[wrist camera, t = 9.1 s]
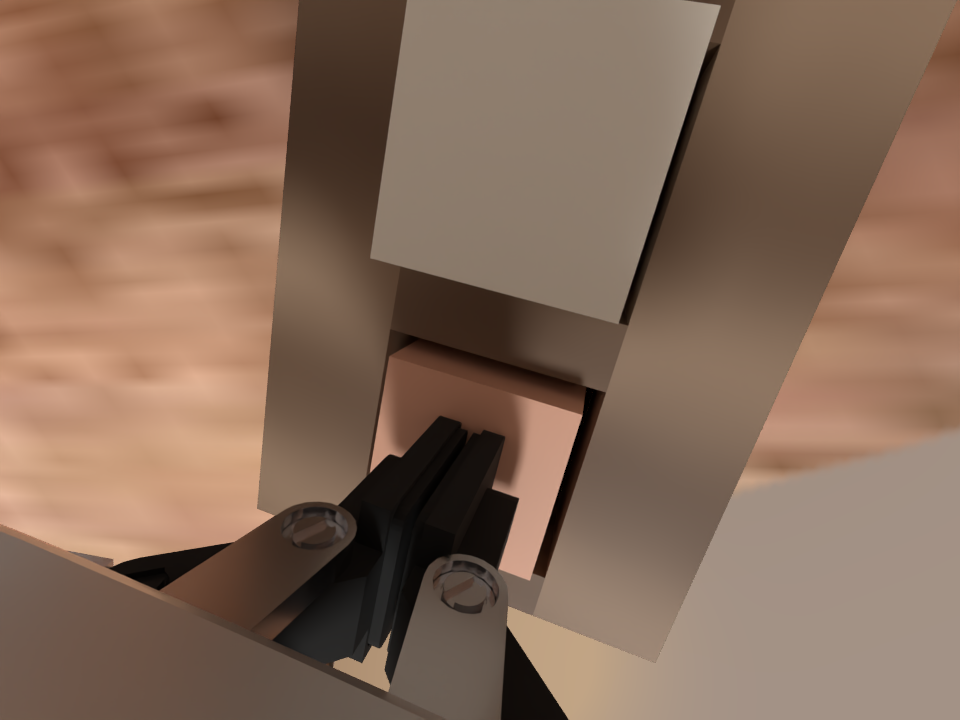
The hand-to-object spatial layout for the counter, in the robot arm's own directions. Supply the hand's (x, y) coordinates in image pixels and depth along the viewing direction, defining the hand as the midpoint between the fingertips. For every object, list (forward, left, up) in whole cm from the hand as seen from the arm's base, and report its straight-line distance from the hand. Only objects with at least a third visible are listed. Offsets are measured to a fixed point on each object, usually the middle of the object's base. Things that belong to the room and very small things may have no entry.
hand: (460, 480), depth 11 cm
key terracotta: (0, 0, -4) cm, 4 cm away
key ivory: (-7, 0, -2) cm, 8 cm away
